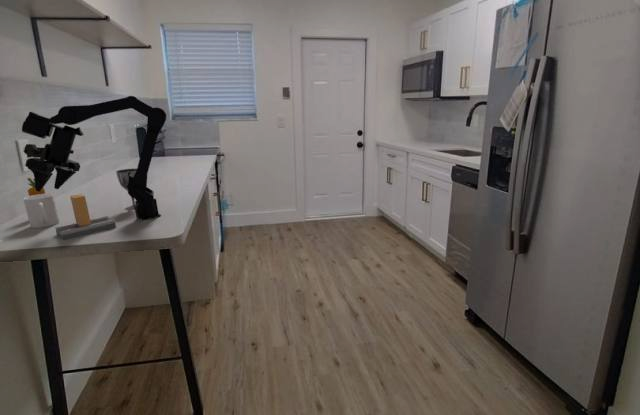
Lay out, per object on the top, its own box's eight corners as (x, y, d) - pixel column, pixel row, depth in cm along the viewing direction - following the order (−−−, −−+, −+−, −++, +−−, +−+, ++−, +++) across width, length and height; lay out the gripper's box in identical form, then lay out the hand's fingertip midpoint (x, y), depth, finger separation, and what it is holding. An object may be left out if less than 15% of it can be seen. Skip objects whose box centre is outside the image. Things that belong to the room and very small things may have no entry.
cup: (58, 219, 135) (52, 192, 133) (61, 226, 126) (54, 198, 124) (30, 224, 130) (22, 196, 128) (31, 232, 121) (23, 202, 119)
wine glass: (118, 210, 145) (111, 172, 141) (134, 204, 152) (127, 168, 148) (135, 210, 142) (128, 172, 138) (149, 205, 150) (143, 168, 146)
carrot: (54, 214, 141) (44, 176, 137) (41, 218, 137) (31, 178, 133) (44, 214, 143) (34, 176, 139) (31, 218, 138) (20, 178, 134)
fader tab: (88, 223, 123) (81, 193, 120) (92, 226, 120) (86, 196, 117) (75, 226, 121) (68, 196, 118) (80, 229, 117) (73, 198, 114)
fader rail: (107, 222, 129) (106, 215, 128) (116, 227, 123) (114, 219, 123) (56, 234, 118) (55, 226, 118) (63, 240, 113) (61, 232, 112)
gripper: (54, 136, 127) (40, 179, 128) (14, 132, 108) (-1, 182, 110) (86, 148, 128) (73, 190, 129) (53, 146, 110) (37, 196, 111)
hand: (47, 189), depth 120 cm, fingers open, 9 cm apart
